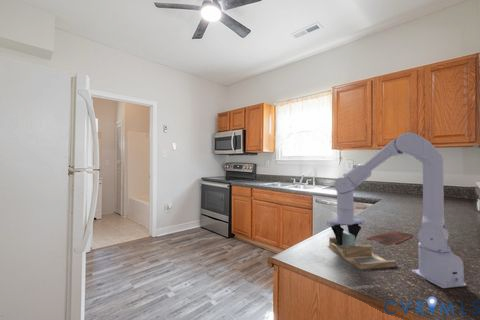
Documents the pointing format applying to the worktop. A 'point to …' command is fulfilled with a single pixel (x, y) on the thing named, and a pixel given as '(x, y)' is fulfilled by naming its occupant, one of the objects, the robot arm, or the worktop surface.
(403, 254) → the worktop surface
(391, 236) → the wooden tablet
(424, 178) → the robot arm
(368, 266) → the rack
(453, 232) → the worktop surface
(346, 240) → the panel
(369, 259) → the felt pad
